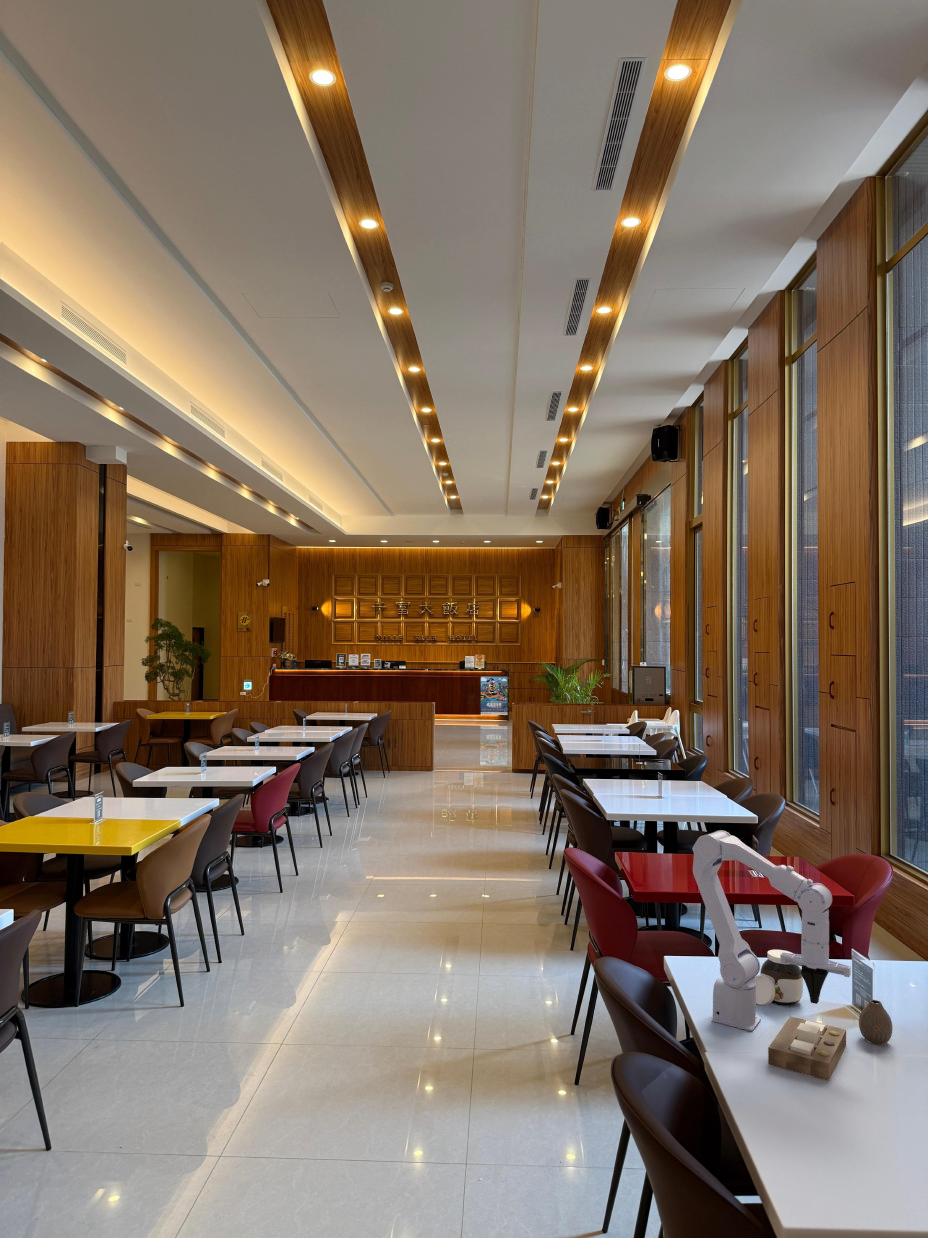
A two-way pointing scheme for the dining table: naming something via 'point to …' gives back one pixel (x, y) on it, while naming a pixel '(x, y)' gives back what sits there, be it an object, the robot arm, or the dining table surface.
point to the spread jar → (778, 982)
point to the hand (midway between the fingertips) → (814, 1002)
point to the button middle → (808, 1033)
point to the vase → (875, 1023)
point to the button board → (805, 1064)
